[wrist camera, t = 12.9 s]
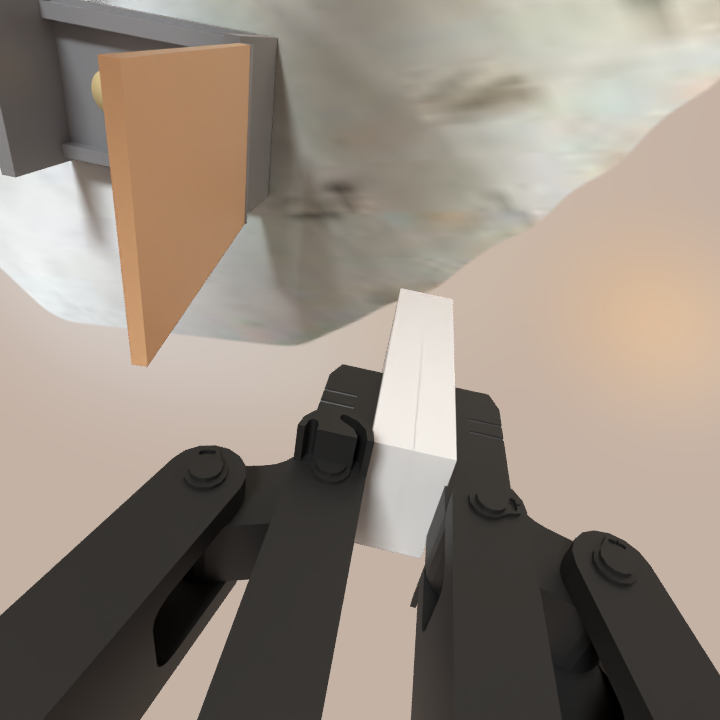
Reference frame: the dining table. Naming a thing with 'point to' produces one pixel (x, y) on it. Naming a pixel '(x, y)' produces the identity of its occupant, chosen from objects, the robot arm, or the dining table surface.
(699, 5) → the dining table surface
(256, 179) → the housing
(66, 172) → the dining table surface
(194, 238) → the tan rectangular panel
